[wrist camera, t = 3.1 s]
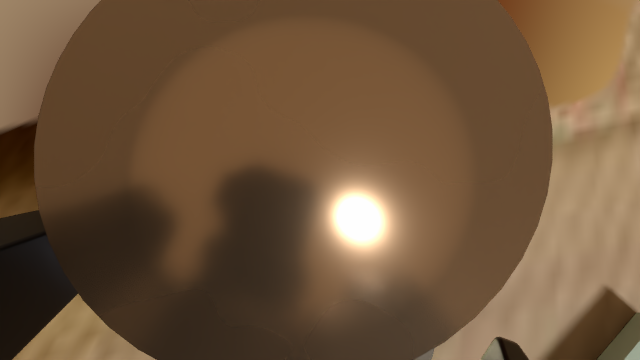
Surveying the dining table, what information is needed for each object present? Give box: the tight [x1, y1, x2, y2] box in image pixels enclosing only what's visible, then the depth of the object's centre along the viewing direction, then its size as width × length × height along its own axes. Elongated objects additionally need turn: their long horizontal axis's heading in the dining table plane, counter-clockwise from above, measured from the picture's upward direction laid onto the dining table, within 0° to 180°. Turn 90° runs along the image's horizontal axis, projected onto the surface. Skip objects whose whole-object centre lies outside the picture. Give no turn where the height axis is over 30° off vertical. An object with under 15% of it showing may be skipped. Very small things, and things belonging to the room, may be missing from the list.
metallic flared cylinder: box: [34, 0, 552, 360], centre depth 11 cm, size 8×8×16 cm
